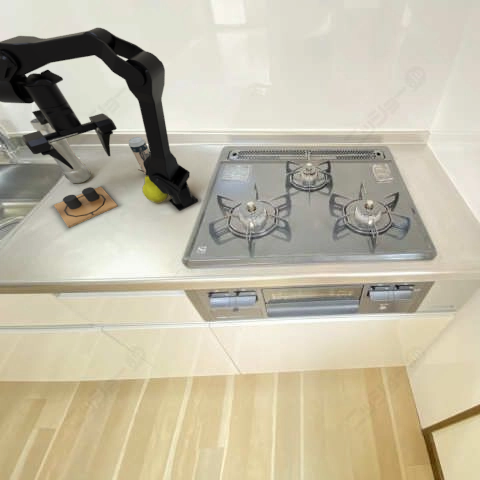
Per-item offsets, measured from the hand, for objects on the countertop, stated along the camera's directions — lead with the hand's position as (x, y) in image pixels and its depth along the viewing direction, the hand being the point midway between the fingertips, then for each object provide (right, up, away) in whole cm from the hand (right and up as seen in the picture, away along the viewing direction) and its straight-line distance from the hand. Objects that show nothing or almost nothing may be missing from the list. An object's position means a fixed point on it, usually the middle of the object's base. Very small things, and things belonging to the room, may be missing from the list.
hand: (91, 162), depth 77 cm
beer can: (+5, +2, +20) cm, 20 cm away
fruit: (+14, -9, +10) cm, 19 cm away
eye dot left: (-10, -11, +6) cm, 16 cm away
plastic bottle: (-16, -2, +16) cm, 23 cm away
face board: (-7, -11, +7) cm, 15 cm away
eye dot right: (-6, -9, +9) cm, 14 cm away
